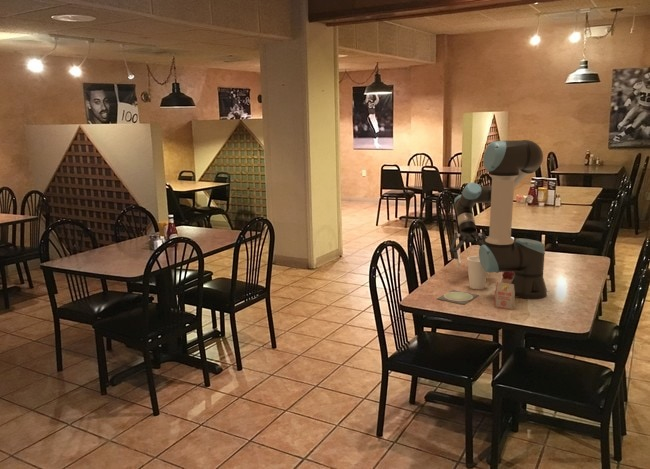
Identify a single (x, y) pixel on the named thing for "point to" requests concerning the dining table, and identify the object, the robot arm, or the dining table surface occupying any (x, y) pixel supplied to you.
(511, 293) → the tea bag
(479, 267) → the foam cup
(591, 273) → the dining table surface
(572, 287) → the dining table surface
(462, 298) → the square coaster
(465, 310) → the dining table surface
